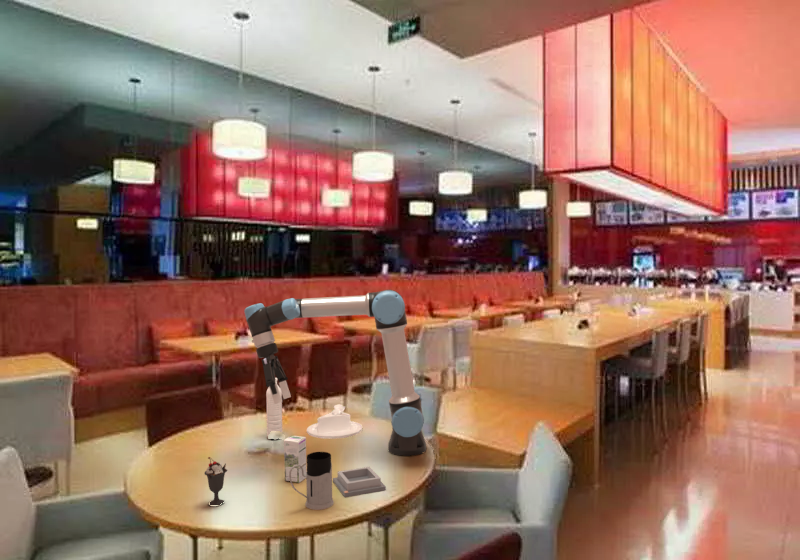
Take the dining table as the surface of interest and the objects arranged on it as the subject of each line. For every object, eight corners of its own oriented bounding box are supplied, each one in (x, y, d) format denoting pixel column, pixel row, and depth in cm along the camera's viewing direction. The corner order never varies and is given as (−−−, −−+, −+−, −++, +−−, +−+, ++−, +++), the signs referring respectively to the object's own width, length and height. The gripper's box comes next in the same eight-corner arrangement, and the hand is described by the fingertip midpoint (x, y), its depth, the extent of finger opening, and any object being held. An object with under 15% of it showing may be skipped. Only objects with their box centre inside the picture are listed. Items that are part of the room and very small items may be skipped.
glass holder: (338, 504, 172) (338, 456, 172) (296, 517, 164) (295, 466, 164) (325, 495, 180) (324, 449, 179) (284, 506, 171) (283, 458, 171)
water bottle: (281, 440, 237) (280, 381, 236) (266, 441, 236) (265, 382, 235) (283, 434, 245) (282, 377, 244) (268, 434, 244) (267, 378, 244)
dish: (340, 419, 268) (340, 396, 268) (373, 430, 249) (373, 405, 249) (296, 430, 251) (295, 405, 251) (328, 443, 233) (328, 416, 233)
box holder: (371, 475, 196) (371, 464, 196) (385, 490, 183) (385, 478, 183) (332, 481, 191) (332, 470, 191) (344, 497, 178) (344, 485, 178)
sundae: (200, 506, 172) (199, 458, 172) (215, 497, 179) (214, 451, 178) (217, 509, 170) (216, 460, 170) (231, 500, 176) (231, 453, 176)
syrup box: (307, 477, 195) (306, 436, 195) (298, 483, 189) (298, 441, 189) (292, 475, 197) (292, 434, 196) (284, 481, 191) (283, 439, 191)
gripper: (265, 347, 219) (281, 399, 217) (245, 349, 194) (264, 408, 192) (283, 341, 219) (300, 393, 217) (266, 342, 194) (284, 401, 192)
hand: (283, 400), depth 204 cm, fingers open, 13 cm apart
